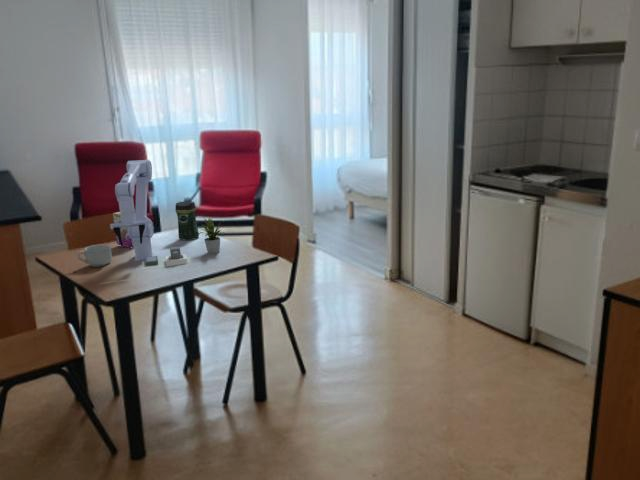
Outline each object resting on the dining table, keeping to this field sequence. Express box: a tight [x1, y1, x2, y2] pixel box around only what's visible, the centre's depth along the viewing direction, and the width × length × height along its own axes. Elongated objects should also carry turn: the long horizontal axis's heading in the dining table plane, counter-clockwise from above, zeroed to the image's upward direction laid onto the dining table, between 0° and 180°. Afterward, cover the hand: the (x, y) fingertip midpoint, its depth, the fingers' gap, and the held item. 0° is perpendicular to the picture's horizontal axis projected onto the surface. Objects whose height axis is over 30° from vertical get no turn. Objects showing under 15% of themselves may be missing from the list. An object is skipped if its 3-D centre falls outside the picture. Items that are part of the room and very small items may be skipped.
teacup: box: [76, 244, 113, 268], centre depth 256 cm, size 14×11×8 cm
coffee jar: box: [175, 201, 200, 241], centre depth 295 cm, size 10×8×19 cm
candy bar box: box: [112, 211, 134, 249], centre depth 286 cm, size 11×5×16 cm, turn 58°
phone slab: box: [144, 255, 159, 266], centre depth 254 cm, size 9×5×2 cm, turn 17°
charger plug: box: [169, 246, 182, 260], centre depth 252 cm, size 4×4×6 cm
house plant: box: [198, 217, 225, 255], centre depth 267 cm, size 14×14×16 cm
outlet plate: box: [141, 253, 193, 270], centre depth 253 cm, size 13×20×3 cm, turn 107°
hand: (131, 244), depth 247 cm, fingers open, 7 cm apart
